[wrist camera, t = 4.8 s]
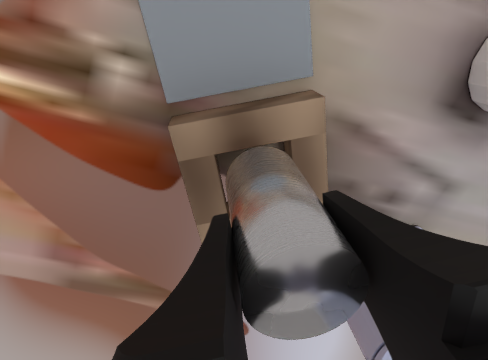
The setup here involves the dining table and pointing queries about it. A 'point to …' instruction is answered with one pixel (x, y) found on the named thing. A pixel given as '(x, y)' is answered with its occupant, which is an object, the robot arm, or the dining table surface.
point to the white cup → (480, 78)
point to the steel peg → (289, 250)
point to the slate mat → (227, 44)
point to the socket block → (248, 145)
